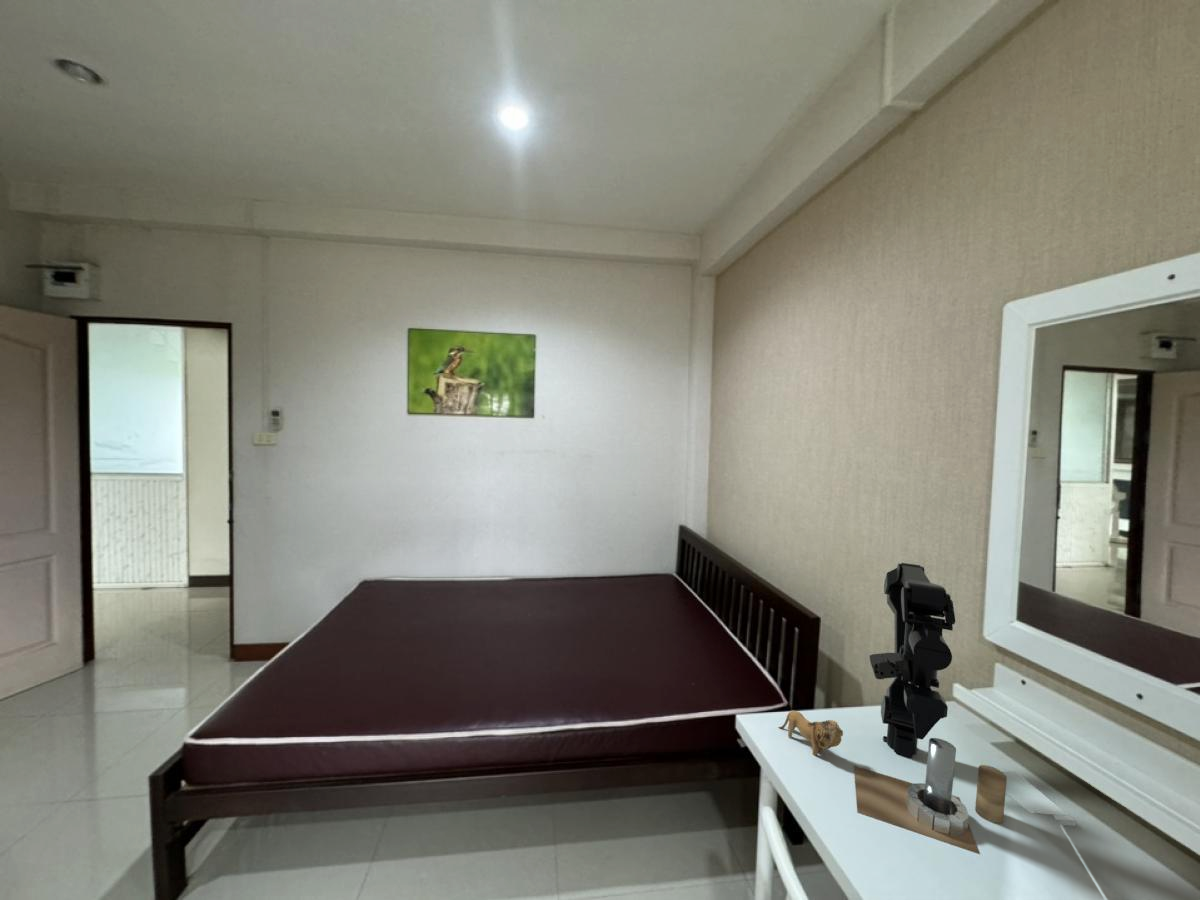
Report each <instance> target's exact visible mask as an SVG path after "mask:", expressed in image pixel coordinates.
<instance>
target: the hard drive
mask: <svg viewBox="0 0 1200 900" xmlns="http://www.w3.org/2000/svg"><path fill="white" fill-rule="evenodd" d="M1000 771H1001V770H1000ZM1001 772H1003V773H1004V774H1005V775H1006V777H1007V782H1006V794H1007V795H1009V796H1010V797H1011V798H1012V799H1013V800H1015V802H1017V803H1018V804H1019V805H1020V806H1021V807H1023V809H1025V810H1026V811H1028V812H1029V813H1030V814H1034V813H1038V814H1045V815H1052V816H1053V817H1054V819H1055V821H1056V822H1057V823H1058V825H1059V826H1071V827H1072V826H1073V827H1075V826H1076V823H1077V822H1076V821H1075V819H1073V818H1072V817H1071V816H1069V814H1067V813H1066V811H1064V810H1062V809H1061V808H1060V807H1059V806H1058V805H1056V804H1055V803H1054V802H1053V801H1052V800H1051V799H1049V798H1048V797H1047V795H1045V794H1043V792H1041V791H1040V790H1038V789H1037V788H1035V786H1033V785H1032V784H1031V783H1030V782H1029V781H1028V780H1027V779H1026V778H1024V777H1023V776H1022V775H1021V774H1019V773H1018V772H1017V771H1001Z"/></svg>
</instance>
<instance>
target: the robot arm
mask: <svg viewBox="0 0 1200 900" xmlns="http://www.w3.org/2000/svg"><path fill="white" fill-rule="evenodd" d="M883 585H884V586H883V592H884V595H886V604H887V605H888V607H889V608H890V610H891V612H892V613H893V614H894V652H882V653H873V654H870V655H869V661H870V665H871V668H872V672H873V675H874V677H875V679H876V680H885V679H893V680H892V681H891V683H890V684H889V686H888V687H887V688H886V695H883V698H882V700H881V703H880V716H881V721H882V724H884V725H885V724H887V733H886V735H883V737H882V741H883V742H884V743H886V744H887V746H888V747H889V748H890V749H892V750H893V752H894V753H895V754H896V755H897V756H900V757H904V758H908V759H912V758H913V756H914V755H915V756H916V754H917V752H919V750H918V742H919V741H918V740H924V738H925V737H926V736H928V734H929V733H930V731H931V730H932V729H933V728H934V727H935V725H936V724H938V722H939V721H940V720H941V719H945V718H947V717H948V708H949V706H948V704H947V702H946V700H945V698H944V696H943V695H942V693H940V692H939V691H938V690H937V691H936V690H932V688H931V687H933V688H938V689H939V688H940V682H939V679H938V671H942V670H945V669H947V668H948V667H949V666H950V665H951V663H952V662H953V661H952V660H953V655H952V652H951V649H950V648H949V645H948V644H947V642H946V641H945V638H944V637H943V630H947V631H951V632H952V631H953V629H954V627H953V625H955V624H956V616H955V608H954V601H953V600H952V599H951V594H949V593H947V590H946V588H945V587H944V586H942V585H939V584H937V583H932V582H931V581H930V579H929V578H928V576H927V575H926V573H925V567H924V566H922V565H921V564H914V563H906V562H901V563H897V566H896V568H894V569H892V570H890V571H888V572H886V575H885V579H884V584H883ZM943 618H944V619H943Z"/></svg>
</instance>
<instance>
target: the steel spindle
mask: <svg viewBox="0 0 1200 900" xmlns="http://www.w3.org/2000/svg"><path fill="white" fill-rule="evenodd" d="M956 757H957V748H956V747H955V746H954V744H952V743H951V742H949V741H946V740H944V739H942V738H939V737H931V738H929V739H928V750H927V762H926V771H925V781H924V782H925V783H924V784H925V790H924V801H923V804H924V805H925V806H927V807H928V808H930V809H932V810H933V811H935V812H938V813H941V814H945V815H950V809H951V798H952V795H953V787H954V786H953V785H954V774H955V766H956V765H955V764H956Z"/></svg>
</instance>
